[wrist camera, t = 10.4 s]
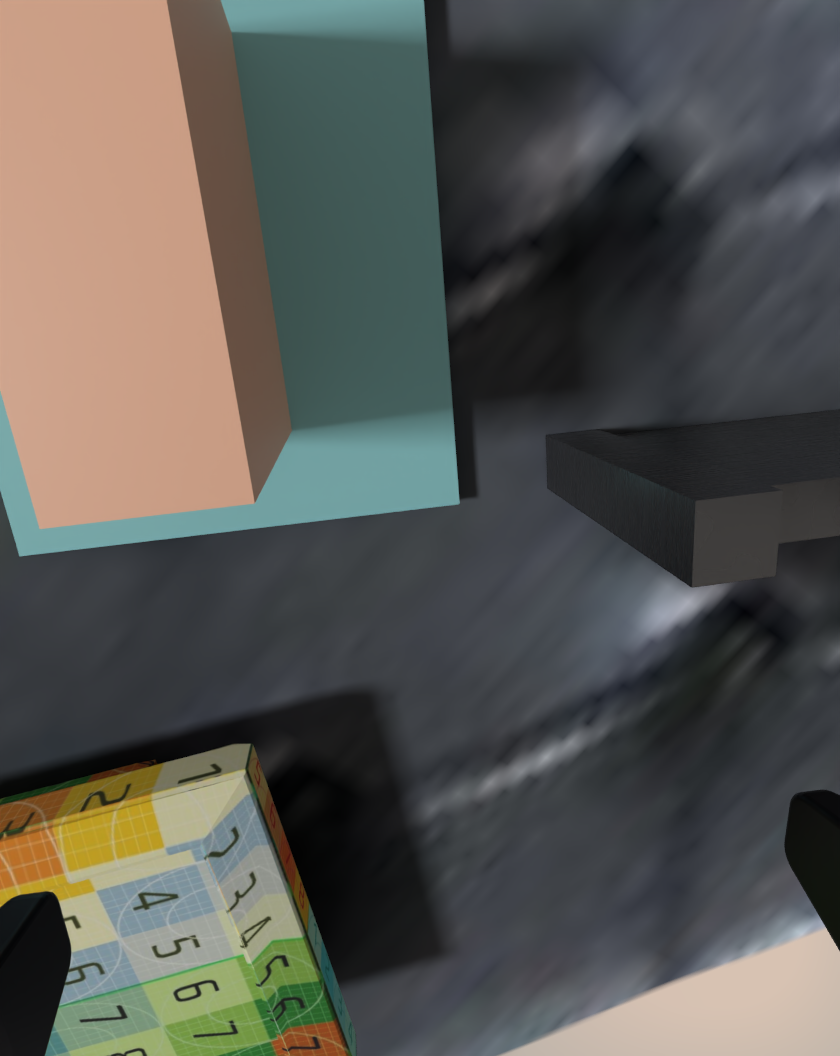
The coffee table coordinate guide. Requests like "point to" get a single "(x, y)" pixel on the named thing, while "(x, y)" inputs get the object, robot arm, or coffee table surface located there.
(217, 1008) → the puzzle game
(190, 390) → the terracotta panel
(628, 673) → the coffee table surface
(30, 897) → the robot arm
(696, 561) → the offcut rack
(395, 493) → the teal mat
